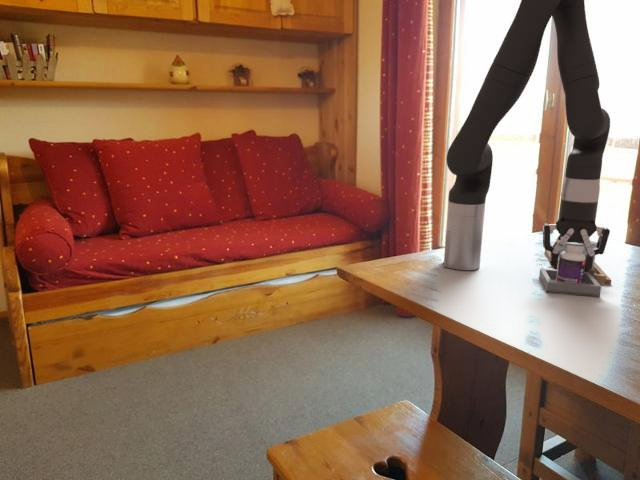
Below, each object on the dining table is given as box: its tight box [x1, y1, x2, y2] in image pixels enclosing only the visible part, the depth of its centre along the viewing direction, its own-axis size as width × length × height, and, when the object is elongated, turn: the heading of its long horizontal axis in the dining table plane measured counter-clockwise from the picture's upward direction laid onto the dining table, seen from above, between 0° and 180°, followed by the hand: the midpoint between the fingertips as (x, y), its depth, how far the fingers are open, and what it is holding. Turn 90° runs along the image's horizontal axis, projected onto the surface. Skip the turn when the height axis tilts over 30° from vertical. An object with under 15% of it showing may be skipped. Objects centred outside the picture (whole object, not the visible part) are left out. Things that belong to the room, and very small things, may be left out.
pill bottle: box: [556, 242, 586, 284], centre depth 119 cm, size 5×5×10 cm
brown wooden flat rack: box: [544, 249, 612, 286], centre depth 136 cm, size 12×26×3 cm, turn 166°
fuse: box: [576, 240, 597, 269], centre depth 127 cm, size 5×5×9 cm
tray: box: [538, 268, 602, 298], centre depth 120 cm, size 11×11×2 cm
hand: (570, 269), depth 119 cm, fingers open, 6 cm apart
